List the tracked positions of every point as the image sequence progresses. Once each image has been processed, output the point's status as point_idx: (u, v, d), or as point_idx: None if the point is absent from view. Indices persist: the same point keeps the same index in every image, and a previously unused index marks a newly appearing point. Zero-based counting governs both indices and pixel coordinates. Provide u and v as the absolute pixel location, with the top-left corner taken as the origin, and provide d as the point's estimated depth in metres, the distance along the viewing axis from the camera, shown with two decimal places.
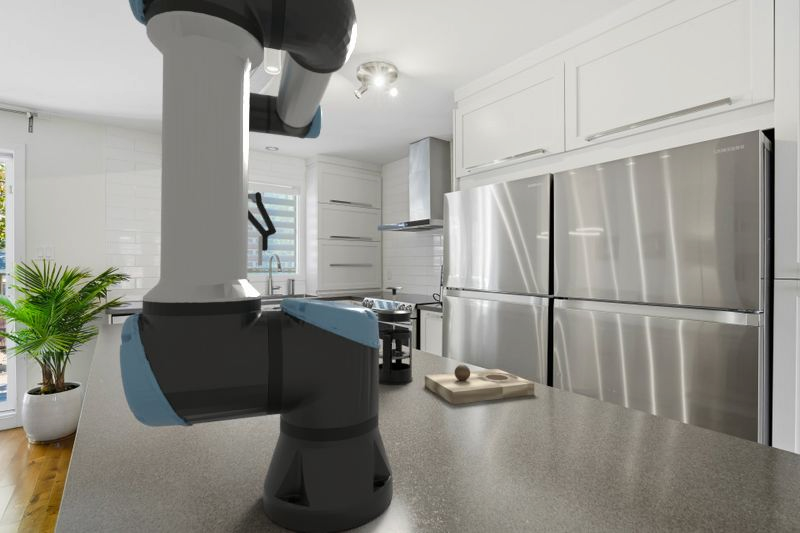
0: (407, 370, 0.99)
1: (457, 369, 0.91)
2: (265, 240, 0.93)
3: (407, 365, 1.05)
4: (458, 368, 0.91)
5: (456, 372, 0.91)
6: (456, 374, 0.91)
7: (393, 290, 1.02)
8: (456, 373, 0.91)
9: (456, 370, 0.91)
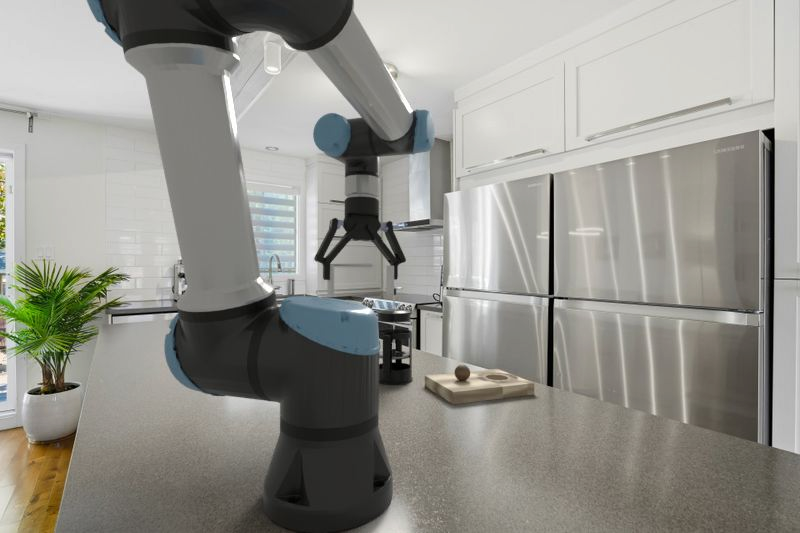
0: (407, 370, 0.99)
1: (457, 369, 0.91)
2: (395, 269, 0.93)
3: (407, 365, 1.05)
4: (458, 368, 0.91)
5: (456, 372, 0.91)
6: (456, 374, 0.91)
7: None
8: (456, 373, 0.91)
9: (456, 370, 0.91)
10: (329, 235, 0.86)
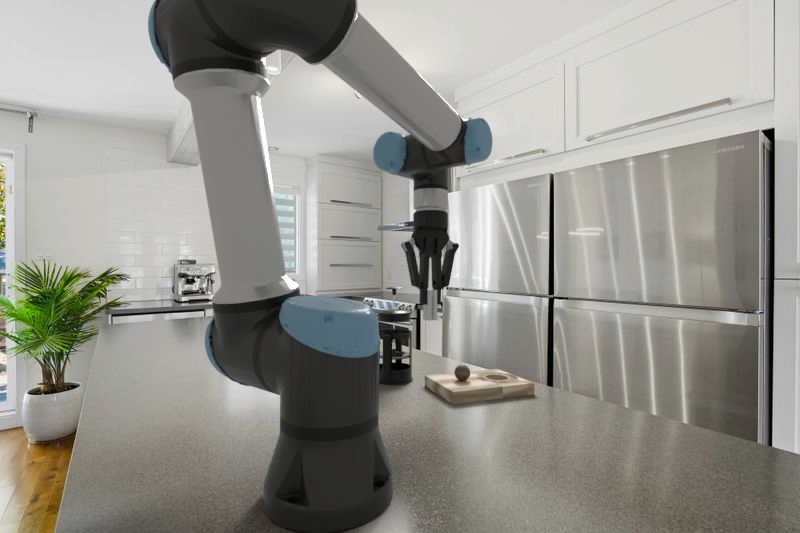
0: (407, 370, 0.99)
1: (457, 369, 0.91)
2: (438, 293, 0.89)
3: (407, 365, 1.05)
4: (458, 368, 0.91)
5: (456, 372, 0.91)
6: (456, 374, 0.91)
7: (393, 290, 1.02)
8: (456, 373, 0.91)
9: (456, 370, 0.91)
10: (412, 259, 0.87)
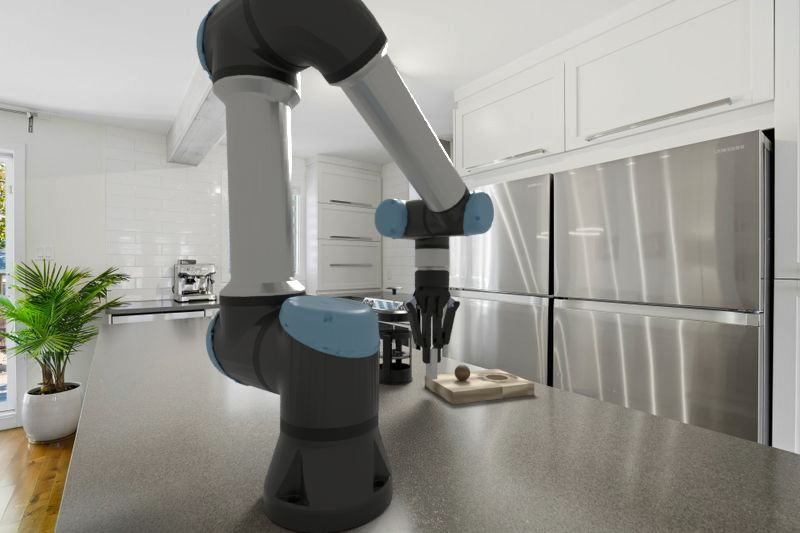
0: (407, 370, 0.99)
1: (457, 369, 0.91)
2: (438, 351, 0.89)
3: (407, 365, 1.05)
4: (458, 368, 0.91)
5: (456, 372, 0.91)
6: (456, 374, 0.91)
7: (393, 290, 1.02)
8: (456, 373, 0.91)
9: (456, 370, 0.91)
10: (414, 320, 0.87)
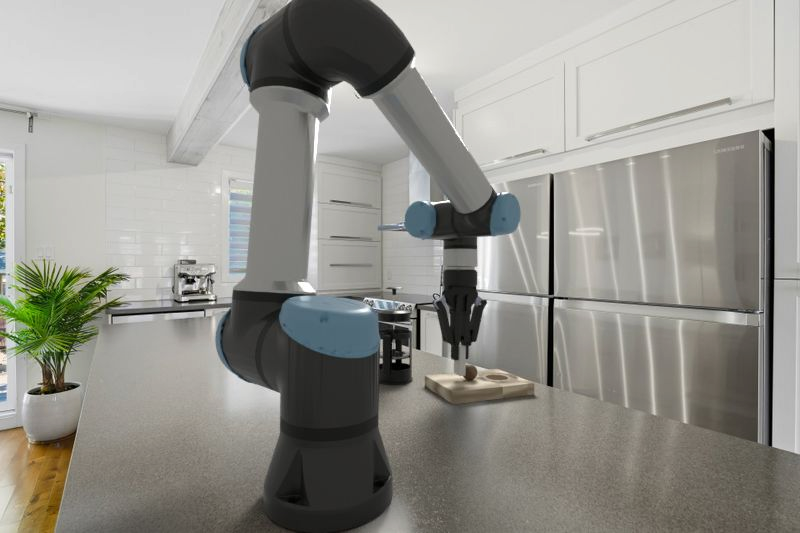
0: (407, 370, 0.99)
1: (470, 364, 0.93)
2: (466, 348, 0.92)
3: (407, 365, 1.05)
4: (471, 365, 0.93)
5: (467, 365, 0.92)
6: (466, 367, 0.92)
7: (393, 290, 1.02)
8: (466, 366, 0.92)
9: (468, 364, 0.93)
10: (444, 318, 0.89)
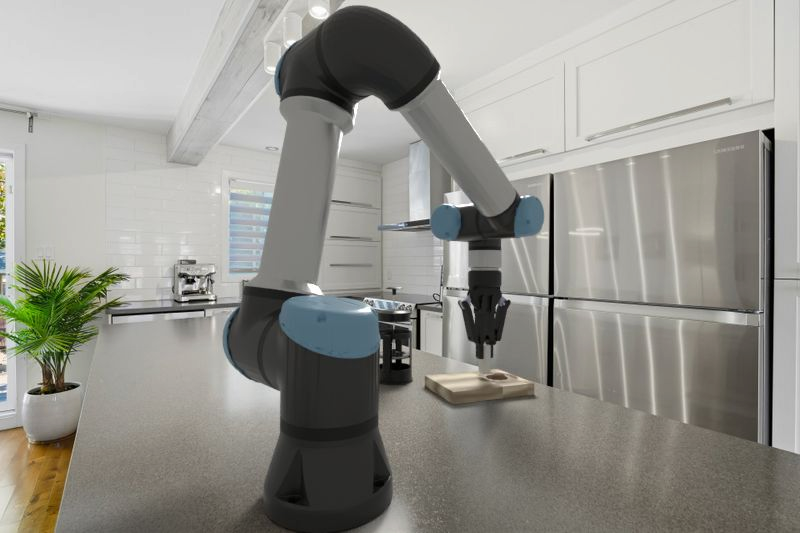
0: (407, 370, 0.99)
1: None
2: (491, 347, 0.94)
3: (407, 365, 1.05)
4: (493, 379, 0.95)
5: None
6: None
7: (393, 290, 1.02)
8: None
9: None
10: (469, 317, 0.92)
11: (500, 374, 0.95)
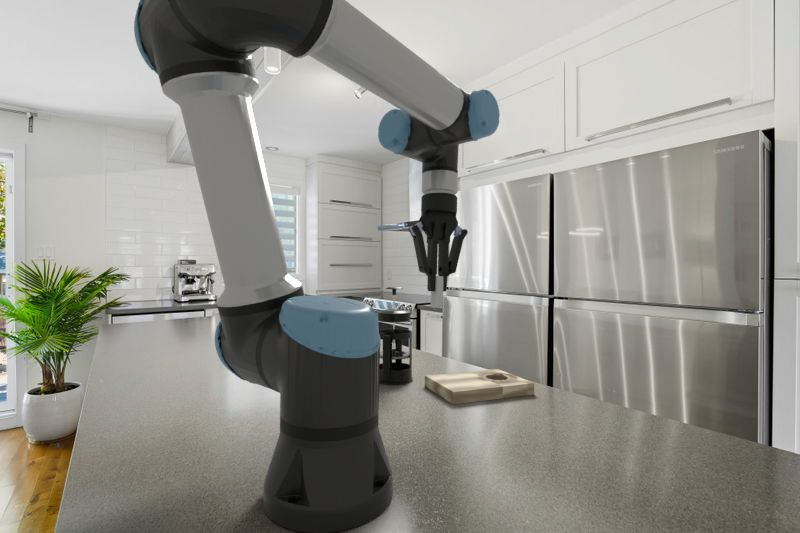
0: (407, 370, 0.99)
1: None
2: (444, 280, 0.86)
3: (407, 365, 1.05)
4: None
5: None
6: None
7: (393, 290, 1.02)
8: None
9: None
10: (420, 244, 0.83)
11: (498, 374, 0.95)
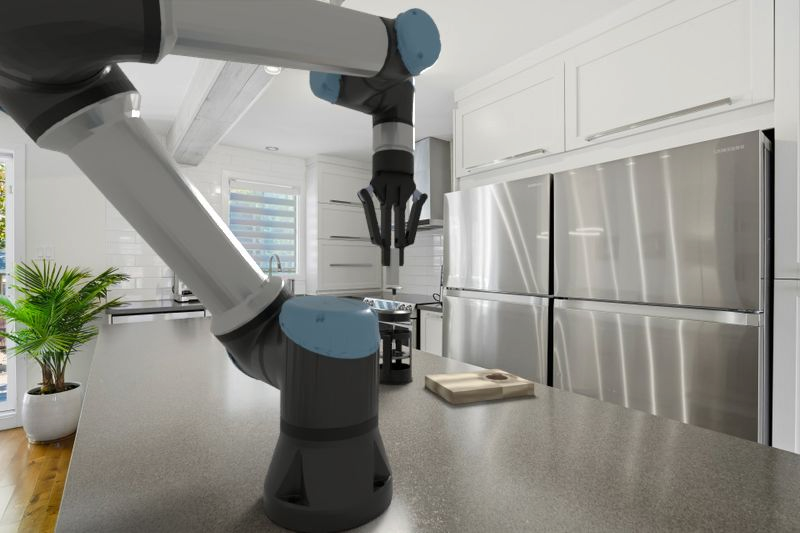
0: (407, 370, 0.99)
1: None
2: (401, 253, 0.74)
3: (407, 365, 1.05)
4: None
5: None
6: None
7: (393, 290, 1.02)
8: None
9: None
10: (370, 210, 0.71)
11: (496, 375, 0.94)
